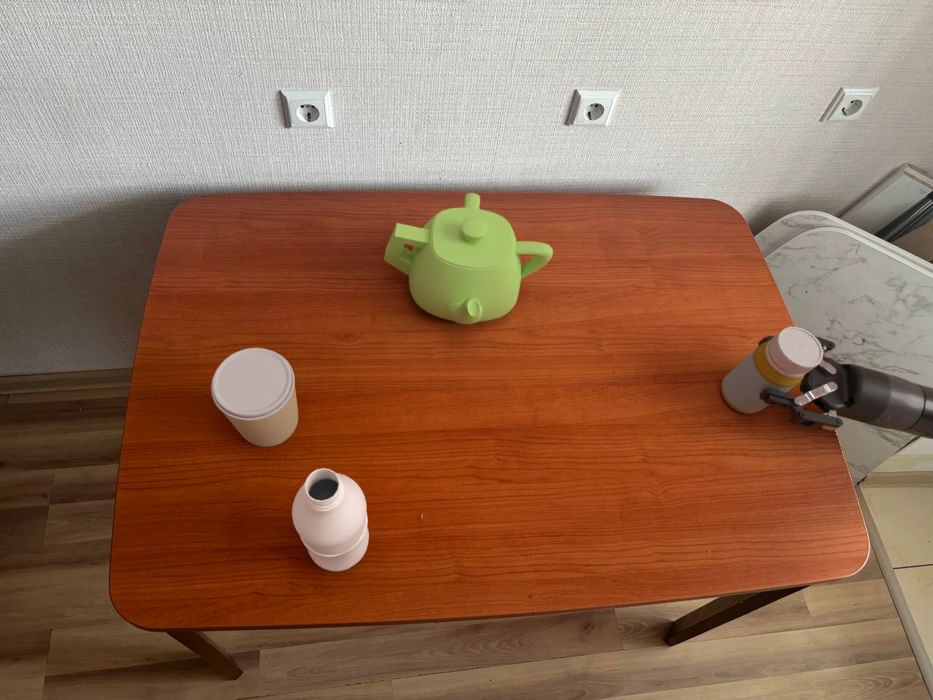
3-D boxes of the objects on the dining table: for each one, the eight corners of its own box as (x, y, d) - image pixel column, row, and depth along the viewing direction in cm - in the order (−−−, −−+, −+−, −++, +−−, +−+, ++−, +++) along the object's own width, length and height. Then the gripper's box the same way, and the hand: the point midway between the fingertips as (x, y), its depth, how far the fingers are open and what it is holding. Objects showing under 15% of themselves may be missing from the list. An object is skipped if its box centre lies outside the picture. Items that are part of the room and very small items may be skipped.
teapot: (466, 224, 100) (478, 159, 88) (548, 302, 94) (574, 245, 82) (377, 277, 93) (376, 214, 80) (461, 366, 87) (474, 314, 74)
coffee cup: (316, 401, 81) (307, 360, 71) (285, 463, 77) (270, 428, 66) (253, 379, 82) (234, 335, 71) (218, 439, 77) (193, 401, 67)
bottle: (736, 366, 93) (793, 314, 80) (771, 398, 91) (836, 351, 78) (709, 390, 90) (764, 341, 77) (745, 424, 88) (808, 379, 75)
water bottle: (324, 506, 74) (302, 434, 53) (378, 525, 74) (377, 461, 53) (299, 562, 71) (263, 509, 49) (355, 583, 71) (344, 539, 49)
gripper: (859, 453, 83) (747, 422, 83) (850, 367, 90) (747, 338, 90) (900, 433, 76) (778, 399, 76) (886, 342, 83) (775, 311, 83)
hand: (761, 366), depth 83 cm, fingers open, 8 cm apart
